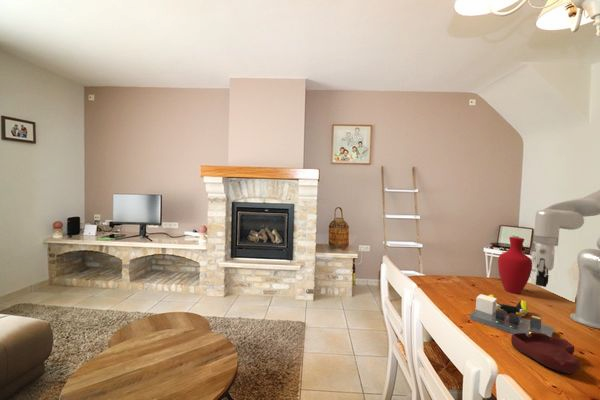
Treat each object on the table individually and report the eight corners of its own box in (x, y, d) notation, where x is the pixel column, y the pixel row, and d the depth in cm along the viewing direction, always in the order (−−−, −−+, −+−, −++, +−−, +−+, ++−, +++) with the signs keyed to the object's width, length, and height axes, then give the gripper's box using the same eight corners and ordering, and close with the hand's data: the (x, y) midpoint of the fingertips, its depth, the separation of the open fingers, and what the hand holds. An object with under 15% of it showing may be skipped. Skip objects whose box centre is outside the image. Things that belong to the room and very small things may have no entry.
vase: (490, 288, 155) (494, 235, 153) (505, 285, 161) (509, 234, 159) (520, 298, 141) (524, 241, 140) (535, 294, 147) (540, 239, 146)
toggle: (541, 326, 108) (541, 317, 108) (539, 328, 106) (540, 319, 106) (531, 323, 110) (532, 314, 110) (529, 325, 108) (530, 316, 108)
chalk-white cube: (495, 310, 121) (496, 298, 121) (492, 314, 117) (493, 302, 116) (479, 305, 125) (480, 294, 125) (475, 309, 121) (476, 297, 121)
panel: (553, 332, 108) (554, 318, 107) (548, 346, 98) (550, 331, 97) (480, 309, 126) (481, 297, 126) (469, 319, 116) (470, 306, 116)
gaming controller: (486, 303, 133) (489, 311, 124) (487, 292, 133) (490, 300, 124) (525, 311, 126) (531, 320, 117) (526, 300, 126) (532, 308, 117)
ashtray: (511, 336, 104) (512, 324, 103) (571, 355, 93) (573, 341, 93) (509, 358, 90) (510, 344, 90) (579, 383, 79) (581, 366, 79)
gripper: (555, 244, 103) (551, 292, 104) (560, 240, 114) (556, 283, 115) (530, 241, 109) (526, 286, 110) (536, 237, 120) (533, 278, 121)
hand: (541, 284), depth 112 cm, fingers open, 3 cm apart
